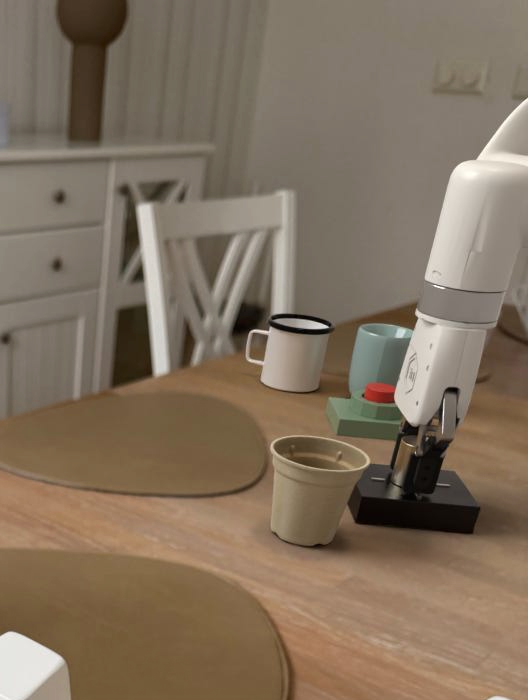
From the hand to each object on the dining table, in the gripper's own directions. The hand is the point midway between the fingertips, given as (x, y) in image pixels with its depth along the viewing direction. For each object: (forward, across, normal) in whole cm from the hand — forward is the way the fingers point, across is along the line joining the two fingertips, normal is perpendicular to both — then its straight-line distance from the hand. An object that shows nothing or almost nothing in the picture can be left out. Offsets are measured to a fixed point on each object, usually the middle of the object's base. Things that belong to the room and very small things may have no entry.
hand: (411, 479), depth 103 cm
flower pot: (+4, +9, -12) cm, 15 cm away
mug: (+4, -44, -8) cm, 45 cm away
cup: (+4, -38, +4) cm, 38 cm away
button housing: (+3, -27, +2) cm, 27 cm away
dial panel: (+3, 0, 0) cm, 3 cm away
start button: (0, -27, +2) cm, 27 cm away
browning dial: (0, 0, 0) cm, 0 cm away
